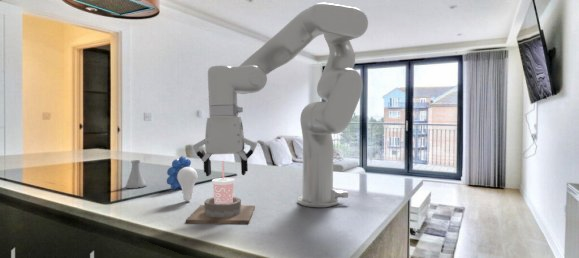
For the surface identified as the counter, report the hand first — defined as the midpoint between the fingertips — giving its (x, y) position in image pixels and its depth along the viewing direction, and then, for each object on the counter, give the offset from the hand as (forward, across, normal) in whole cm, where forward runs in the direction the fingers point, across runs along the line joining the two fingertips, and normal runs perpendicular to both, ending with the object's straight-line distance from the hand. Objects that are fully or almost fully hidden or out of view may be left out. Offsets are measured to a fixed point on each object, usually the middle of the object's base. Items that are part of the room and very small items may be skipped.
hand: (226, 174), depth 93 cm
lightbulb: (+11, +15, -13) cm, 23 cm away
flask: (+10, +41, -34) cm, 55 cm away
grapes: (+11, +24, -31) cm, 41 cm away
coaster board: (+11, +1, +1) cm, 11 cm away
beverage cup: (+10, +1, +1) cm, 10 cm away
